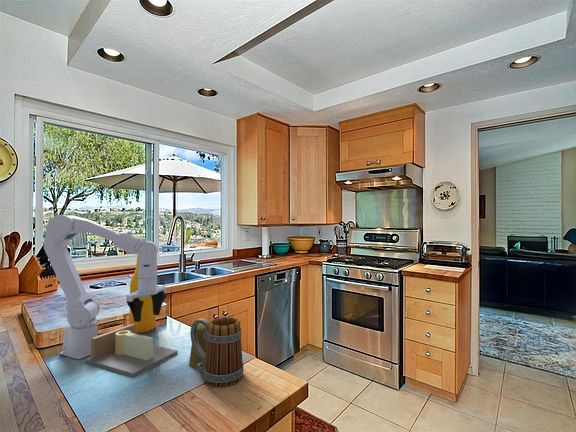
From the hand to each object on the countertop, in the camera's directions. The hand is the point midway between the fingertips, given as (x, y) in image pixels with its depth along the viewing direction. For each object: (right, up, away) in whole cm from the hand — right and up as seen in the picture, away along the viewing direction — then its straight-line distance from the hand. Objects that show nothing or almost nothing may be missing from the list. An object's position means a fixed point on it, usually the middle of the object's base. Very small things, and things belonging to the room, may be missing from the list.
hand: (147, 318), depth 102 cm
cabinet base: (0, -9, -9) cm, 13 cm away
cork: (+21, -10, -12) cm, 26 cm away
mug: (+28, -10, -19) cm, 35 cm away
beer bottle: (-9, -10, +16) cm, 21 cm away
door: (0, -8, -9) cm, 12 cm away
